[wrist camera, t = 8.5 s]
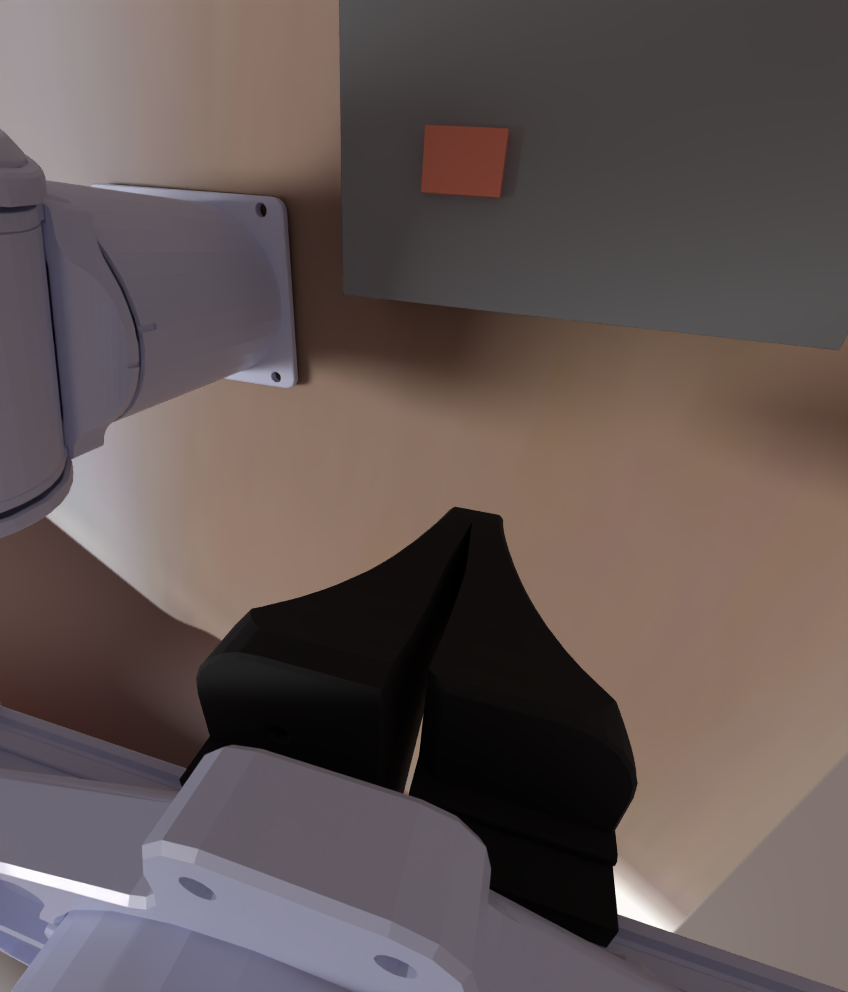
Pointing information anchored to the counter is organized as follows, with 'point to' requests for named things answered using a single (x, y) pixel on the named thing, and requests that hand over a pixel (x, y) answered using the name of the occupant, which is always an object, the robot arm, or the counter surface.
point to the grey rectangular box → (601, 161)
